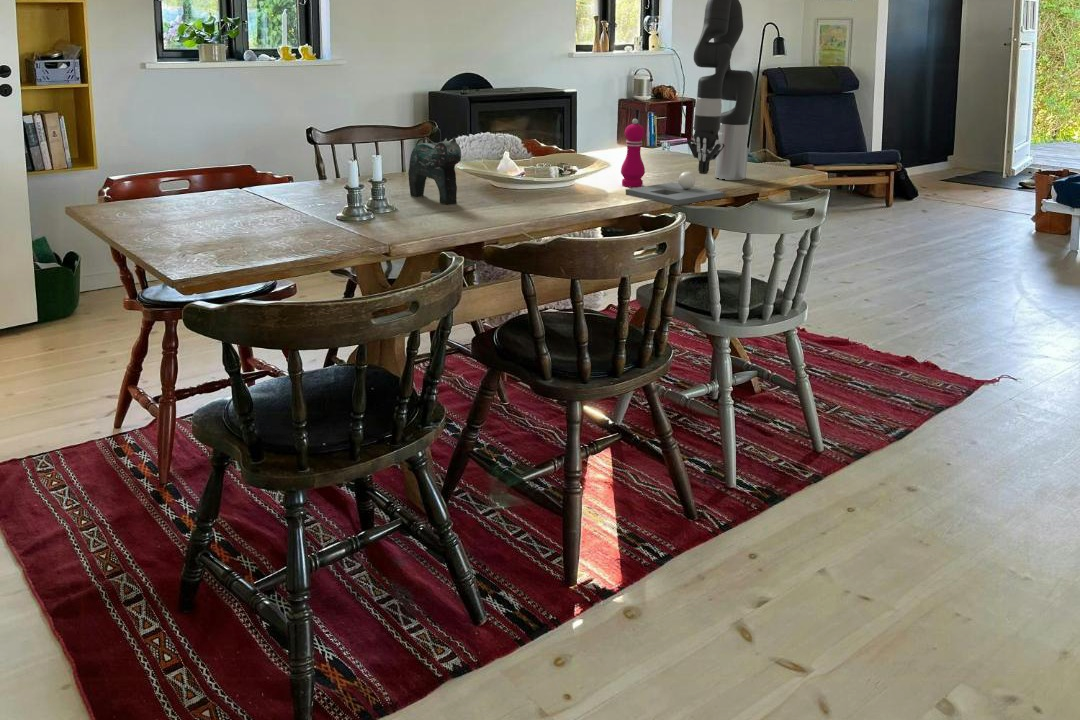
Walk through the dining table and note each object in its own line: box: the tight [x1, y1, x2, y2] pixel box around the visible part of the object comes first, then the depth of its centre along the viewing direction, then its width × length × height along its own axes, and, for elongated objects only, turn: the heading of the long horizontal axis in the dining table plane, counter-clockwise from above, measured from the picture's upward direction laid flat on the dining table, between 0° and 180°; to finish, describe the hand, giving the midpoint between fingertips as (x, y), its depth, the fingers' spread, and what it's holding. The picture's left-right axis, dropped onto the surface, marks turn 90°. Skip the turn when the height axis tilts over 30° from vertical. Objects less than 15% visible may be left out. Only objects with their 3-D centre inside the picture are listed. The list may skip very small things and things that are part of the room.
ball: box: [677, 171, 697, 189], centre depth 309 cm, size 5×5×5 cm
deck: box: [625, 181, 725, 206], centre depth 307 cm, size 20×20×2 cm
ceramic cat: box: [407, 127, 462, 206], centre depth 292 cm, size 20×6×20 cm, turn 42°
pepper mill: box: [620, 118, 646, 188], centre depth 318 cm, size 7×7×20 cm
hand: (703, 173), depth 313 cm, fingers closed
